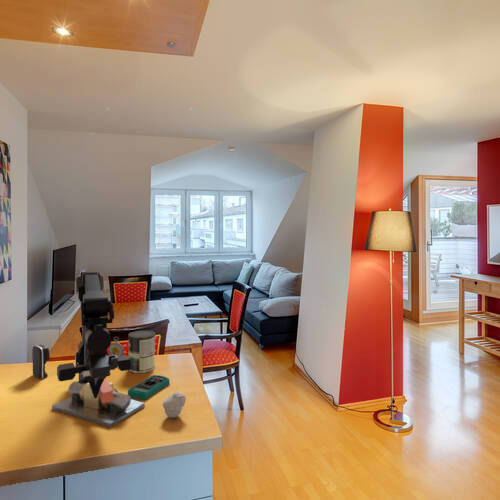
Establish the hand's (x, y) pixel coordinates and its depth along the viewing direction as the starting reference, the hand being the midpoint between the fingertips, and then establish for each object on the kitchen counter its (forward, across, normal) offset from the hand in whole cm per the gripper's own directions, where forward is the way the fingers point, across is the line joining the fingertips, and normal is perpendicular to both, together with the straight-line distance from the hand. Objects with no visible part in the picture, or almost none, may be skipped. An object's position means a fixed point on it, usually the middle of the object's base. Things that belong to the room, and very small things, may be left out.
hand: (95, 397), depth 103 cm
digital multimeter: (+9, +21, +17) cm, 28 cm away
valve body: (+8, +3, +12) cm, 15 cm away
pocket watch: (+8, +16, +51) cm, 54 cm away
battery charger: (+9, -10, +50) cm, 52 cm away
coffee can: (+8, +24, +39) cm, 46 cm away
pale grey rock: (+9, +21, -5) cm, 23 cm away
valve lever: (+1, +3, +5) cm, 6 cm away
